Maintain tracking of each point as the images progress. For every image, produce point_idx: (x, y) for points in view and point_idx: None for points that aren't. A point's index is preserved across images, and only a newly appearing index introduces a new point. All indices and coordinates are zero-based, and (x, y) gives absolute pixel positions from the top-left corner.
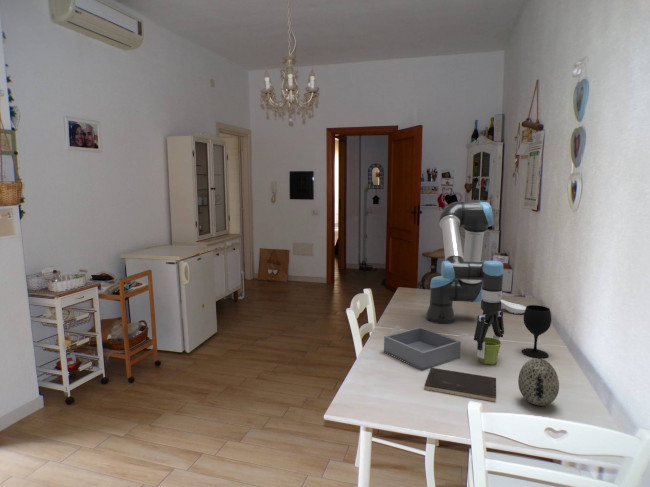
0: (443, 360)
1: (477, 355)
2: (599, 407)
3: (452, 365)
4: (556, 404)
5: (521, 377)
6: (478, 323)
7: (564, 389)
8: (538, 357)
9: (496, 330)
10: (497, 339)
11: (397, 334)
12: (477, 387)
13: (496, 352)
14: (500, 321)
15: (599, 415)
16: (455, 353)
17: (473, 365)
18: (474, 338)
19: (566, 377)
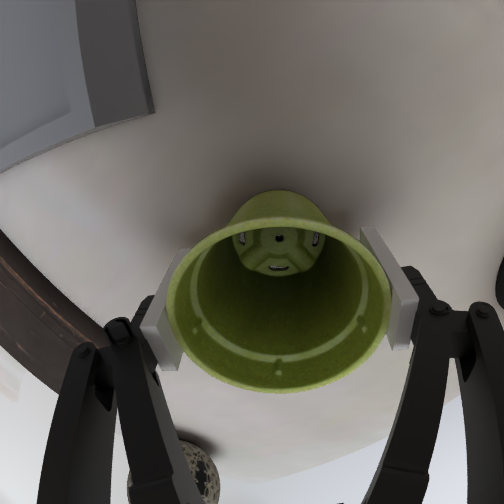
0: (25, 160)
1: (178, 254)
2: (293, 473)
3: (62, 190)
4: (222, 455)
5: (127, 485)
6: (52, 495)
7: (313, 441)
8: (501, 305)
9: (402, 394)
10: (388, 326)
11: None
12: (62, 379)
13: (281, 335)
14: (472, 471)
15: (262, 478)
16: (93, 131)
17: (160, 233)
18: (73, 360)
19: None
